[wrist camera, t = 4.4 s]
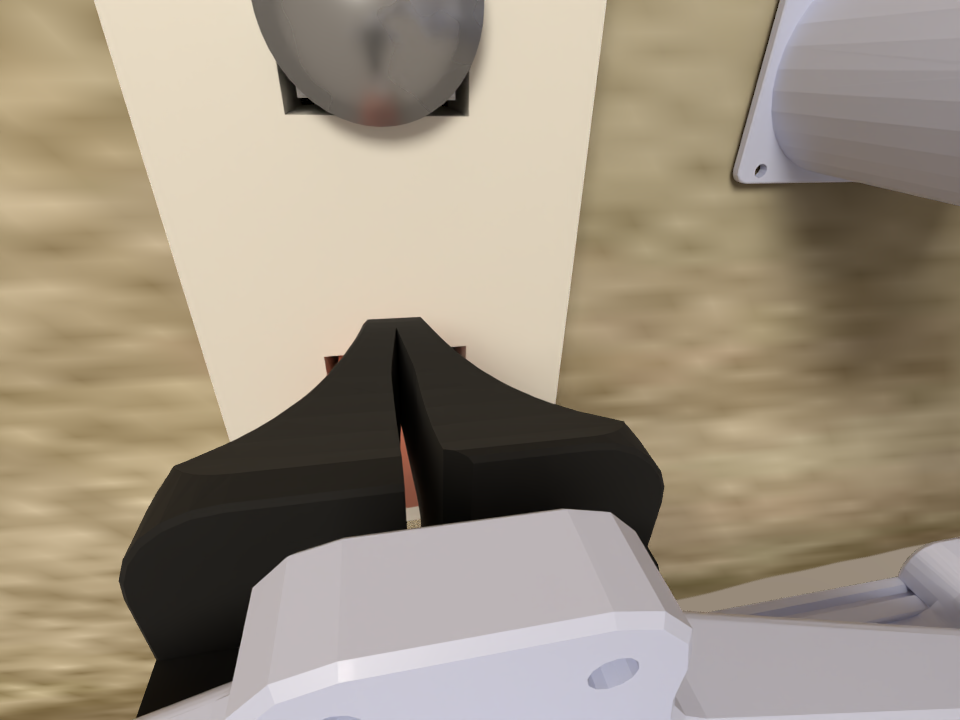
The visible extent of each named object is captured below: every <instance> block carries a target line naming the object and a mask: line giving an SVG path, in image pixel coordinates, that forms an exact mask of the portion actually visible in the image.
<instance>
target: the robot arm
mask: <svg viewBox="0 0 960 720" xmlns="http://www.w3.org/2000/svg"><path fill="white" fill-rule="evenodd" d="M759 165H760V170H759V172H758V173H757V174H756V175H755V170H756V168H757V167H758V166H759ZM733 177H734V179H735V180H736V181H737V182H740V183H744V184H760V183H819V182H859V183H863V184H867V185H872V186H876V187H880V188H884V189H889V190H893V191H897V192H902V193H906V194H910V195H914V196H919V197H923V198H927V199H932V200H936V201H940V202H945V203H949V204H953V205H957V206H960V0H780V2H779V5H778V9H777V13H776V16H775V20H774V24H773V27H772V31H771V35H770V38H769V42H768V45H767V49H766V53H765V56H764V60H763V64H762V67H761V71H760V75H759V78H758V82H757V85H756V89H755V93H754V96H753V100H752V104H751V107H750V111H749V115H748V118H747V122H746V126H745V129H744V133H743V136H742V140H741V144H740V147H739V151H738V155H737V158H736V162H735V166H734V169H733ZM401 427H402V431H403V436H404V441H405V445H406V450H407V454H408V459H409V463H410V468H411V472H412V477H413V481H414V486H415V490H416V495H417V500H418V506H419V511H420V519H421V527H420V528H413V529H407V521H406V501H405V484H404V474H403V464H402V455H401V449H400V445H401ZM663 491H664V483H663V478H662V474H661V471H660V469H659V468H658V466H657V465H656V463H655V462H654V461H653V459H652V458H651V456H650V455H649V453H648V452H647V451H646V449H645V448H644V446H643V445H642V443H641V442H640V441H639V439H638V438H637V437H636V436H635V434H634V433H633V432H632V431H631V430H630V428H629V427H628V426H627V425H626V424H625V423H624V421H619V420H615V419H610V418H606V417H601V416H597V415H592V414H588V413H583V412H579V411H575V410H572V409H569V408H565V407H562V406H559V405H556V404H553V403H550V402H547V401H544V400H541V399H539V398H536V397H534V396H531V395H529V394H527V393H524V392H522V391H520V390H517V389H515V388H513V387H511V386H509V385H507V384H505V383H503V382H501V381H500V380H498V379H496V378H494V377H493V376H491V375H489V374H487V373H486V372H484V371H482V370H481V369H479V368H478V367H476V366H475V365H474V364H472V363H471V362H470V361H468V360H467V359H465V358H464V357H463V356H461V355H460V354H459V353H458V352H456V351H455V350H454V349H453V348H452V347H451V346H450V345H448V344H447V343H446V342H445V341H444V340H443V339H442V338H441V337H440V336H439V335H438V334H437V333H436V332H435V331H434V330H433V329H432V328H431V327H430V326H429V325H428V324H427V323H426V322H425V321H424V320H423V319H422V318H421V317H407V318H386V319H368V320H367V321H366V322H365V323H364V324H363V326H362V328H361V330H360V332H359V333H358V335H357V337H356V338H355V340H354V341H353V343H352V344H351V346H350V347H349V349H348V350H347V351H346V353H345V354H344V356H343V357H342V358H341V359H340V361H339V362H338V363H337V364H336V365H335V367H334V368H333V369H332V370H331V371H330V372H329V373H328V375H327V376H326V377H325V378H324V379H323V380H322V381H321V382H320V383H319V384H318V385H317V386H316V387H315V388H314V389H313V390H311V391H310V392H309V393H308V394H307V395H306V396H304V397H303V398H302V399H300V400H299V401H298V402H296V403H295V404H293V405H292V406H291V407H289V408H288V409H286V410H285V411H283V412H282V413H281V414H279V415H278V416H276V417H275V418H273V419H272V420H270V421H268V422H267V423H265V424H263V425H261V426H260V427H258V428H256V429H255V430H253V431H251V432H249V433H247V434H245V435H243V436H241V437H239V438H238V439H236V440H233V441H231V442H229V443H227V444H225V445H223V446H221V447H218V448H216V449H214V450H211V451H209V452H207V453H204V454H202V455H200V456H197V457H195V458H193V459H190V460H188V461H186V462H183V463H180V464H178V465H175V466H174V467H173V468H172V470H171V471H170V473H169V475H168V476H167V478H166V479H165V481H164V482H163V484H162V485H161V487H160V488H159V490H158V491H157V493H156V495H155V497H154V498H153V500H152V502H151V504H150V506H149V508H148V509H147V511H146V513H145V515H144V517H143V519H142V522H141V524H140V526H139V528H138V530H137V532H136V534H135V536H134V538H133V540H132V542H131V544H130V546H129V548H128V550H127V552H126V554H125V556H124V558H123V561H122V566H121V571H120V577H119V583H120V587H121V590H122V594H123V597H124V600H125V602H126V604H127V606H128V608H129V610H130V611H131V613H132V615H133V617H134V619H135V621H136V623H137V625H138V626H139V628H140V630H141V632H142V634H143V636H144V638H145V639H146V641H147V643H148V645H149V647H150V649H151V651H152V652H153V654H154V656H155V658H156V659H157V660H156V663H155V665H154V668H153V671H152V674H151V677H150V680H149V683H148V685H147V688H146V691H145V694H144V697H143V700H142V703H141V705H140V708H139V711H138V714H137V717H136V719H133V720H960V537H958V538H952V539H946V540H941V541H935V542H931V543H928V544H926V545H923V546H922V547H920V548H919V549H917V550H915V551H914V552H913V553H912V554H911V555H910V556H909V557H908V558H907V560H906V561H905V562H904V564H903V566H902V567H901V569H900V571H899V575H898V577H892V578H887V579H882V580H876V581H871V582H866V583H861V584H855V585H850V586H845V587H839V588H834V589H829V590H823V591H818V592H813V593H808V594H802V595H797V596H792V597H786V598H781V599H776V600H770V601H765V602H760V603H754V604H750V605H744V606H739V607H733V608H728V609H723V610H718V611H712V612H694V611H682V610H681V608H680V607H679V605H678V603H677V601H676V600H675V598H674V596H673V595H672V593H671V591H670V589H669V588H668V586H667V584H666V583H665V581H664V579H663V578H662V576H661V574H660V572H659V567H658V564H657V562H656V560H655V559H654V557H653V555H652V554H651V552H650V550H649V549H648V547H647V546H648V543H649V540H650V537H651V534H652V531H653V528H654V525H655V522H656V519H657V515H658V512H659V509H660V506H661V503H662V497H663Z"/></svg>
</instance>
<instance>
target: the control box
mask: <svg viewBox="0 0 960 720" xmlns="http://www.w3.org/2000/svg"><path fill="white" fill-rule="evenodd" d="M94 2H95V5H96V9H97V12H98V15H99V18H100V22H101V25H102V28H103V31H104V35H105V38H106V41H107V44H108V48H109V51H110V54H111V57H112V61H113V64H114V67H115V70H116V73H117V77H118V80H119V83H120V86H121V90H122V93H123V96H124V99H125V103H126V106H127V109H128V112H129V116H130V119H131V122H132V125H133V129H134V132H135V135H136V138H137V142H138V145H139V148H140V151H141V154H142V158H143V161H144V164H145V167H146V171H147V174H148V177H149V180H150V184H151V187H152V190H153V193H154V197H155V200H156V203H157V206H158V210H159V213H160V216H161V219H162V222H163V226H164V229H165V232H166V235H167V239H168V242H169V245H170V248H171V252H172V255H173V258H174V261H175V265H176V268H177V271H178V274H179V278H180V281H181V284H182V287H183V291H184V294H185V297H186V300H187V303H188V307H189V310H190V313H191V316H192V320H193V323H194V326H195V329H196V333H197V336H198V339H199V342H200V346H201V349H202V352H203V355H204V359H205V362H206V365H207V368H208V371H209V375H210V378H211V381H212V384H213V388H214V391H215V394H216V397H217V401H218V404H219V407H220V410H221V414H222V417H223V420H224V423H225V427H226V430H227V433H228V436H229V440H230V442H231V441H233V440H236V439H238V438H239V437H241V436H243V435H245V434H247V433H249V432H251V431H253V430H255V429H256V428H258V427H260V426H261V425H263V424H265V423H267V422H268V421H270V420H272V419H273V418H275V417H276V416H278V415H279V414H281V413H282V412H283V411H285V410H286V409H288V408H289V407H291V406H292V405H293V404H295V403H296V402H298V401H299V400H300V399H302V398H303V397H304V396H306V395H307V394H308V393H309V392H310V391H311V390H313V389H314V388H315V387H316V386H317V385H318V384H319V383H320V382H321V381H322V380H323V379H324V378H325V377H326V376H327V375H328V373H329V372H330V371H331V370H332V369H333V368H334V367H335V365H336V364H337V363H338V360H339V358H338V356H340V355H344V354H345V353H346V351H347V350H348V349H349V347H350V346H351V344H352V343H353V341H354V340H355V338H356V337H357V335H358V333H359V332H360V330H361V328H362V326H363V324H364V323H365V322H366V321H367V320H368V319H386V318H407V317H421V318H422V319H423V320H424V321H425V322H426V323H427V324H428V325H429V326H430V327H431V328H432V329H433V330H434V331H435V332H436V333H437V334H438V335H439V336H440V337H441V338H442V339H443V340H444V341H445V342H446V343H447V344H448V345H450V346H451V347H452V348H453V349H454V350H455V351H456V352H458V353H459V354H460V355H461V356H463V357H464V358H465V359H467V360H468V361H470V362H471V363H472V364H474V365H475V366H476V367H478V368H479V369H481V370H482V371H484V372H486V373H487V374H489V375H491V376H493V377H494V378H496V379H498V380H500V381H501V382H503V383H505V384H507V385H509V386H511V387H513V388H515V389H517V390H520V391H522V392H524V393H527V394H529V395H531V396H534V397H536V398H539V399H541V400H544V401H547V402H550V403H553V404H555V403H556V395H557V387H558V379H559V371H560V363H561V356H562V348H563V340H564V332H565V324H566V316H567V308H568V301H569V293H570V285H571V277H572V269H573V261H574V253H575V246H576V238H577V230H578V222H579V214H580V206H581V199H582V191H583V183H584V175H585V167H586V159H587V151H588V144H589V136H590V128H591V120H592V112H593V104H594V96H595V89H596V81H597V73H598V65H599V57H600V49H601V41H602V34H603V26H604V18H605V10H606V2H607V0H484V18H483V27H482V32H481V38H480V42H479V45H478V49H477V52H476V55H475V58H474V60H473V62H472V65H471V67H470V69H469V71H468V73H467V75H466V76H465V78H464V80H463V81H462V83H461V84H460V86H459V87H458V88H457V90H456V91H455V100H448V107H438V108H437V109H436V110H434V111H433V112H432V113H430V114H428V115H426V116H424V117H423V118H421V119H418V120H416V121H413V122H410V123H407V124H403V125H398V126H390V127H374V126H365V125H361V124H356V123H352V122H350V121H347V120H344V119H341V118H339V117H337V116H335V115H333V114H331V113H329V112H327V111H325V110H324V109H323V108H321V107H320V106H318V105H302V103H301V98H298V97H297V91H296V86H295V85H294V84H293V83H292V82H291V81H290V80H289V78H288V77H287V76H286V74H285V73H284V72H283V70H282V69H281V68H280V66H279V65H278V64H277V62H276V60H275V59H274V57H273V55H272V54H271V52H270V50H269V49H268V46H267V44H266V42H265V40H264V38H263V36H262V33H261V31H260V28H259V25H258V23H257V20H256V17H255V14H254V10H253V6H252V1H251V0H94ZM419 519H420V511H419V506H416V507H410V508H406V521H412V520H419Z"/></svg>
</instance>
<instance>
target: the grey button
mask: <svg viewBox="0 0 960 720" xmlns="http://www.w3.org/2000/svg"><path fill="white" fill-rule="evenodd" d="M251 1H252V6H253V10H254V14H255V17H256V20H257V23H258V25H259V28H260V31H261V33H262V36H263V38H264V40H265V42H266V44H267V46H268V49H269V50H270V52H271V54H272V55H273V57H274V59H275V60H276V62H277V64H278V65H279V66H280V68H281V69H282V70H283V72H284V73H285V74H286V76H287V77H288V78H289V80H290V81H291V82H292V83H293V84H294V85H295V86H296V91H297V97H298V98H309V99H310V100H311V101H312V102H314V103H315V104H317V105H318V106H320V107H321V108H323V109H324V110H325V111H327V112H329V113H331V114H333V115H335V116H337V117H339V118H341V119H344V120H347V121H350V122H352V123H356V124H361V125H365V126H374V127H390V126H398V125H403V124H407V123H410V122H413V121H416V120H418V119H421V118H423V117H424V116H426V115H428V114H430V113H432V112H433V111H434V110H436V109H437V108H438V107H440V106H441V105H442V104H444V103H445V102H446V101H447V100H455V91H456V90H457V88H458V87H459V86H460V84H461V83H462V81H463V80H464V78H465V76H466V75H467V73H468V71H469V69H470V67H471V65H472V62H473V60H474V58H475V55H476V52H477V49H478V45H479V42H480V38H481V32H482V27H483V18H484V0H251Z"/></svg>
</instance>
